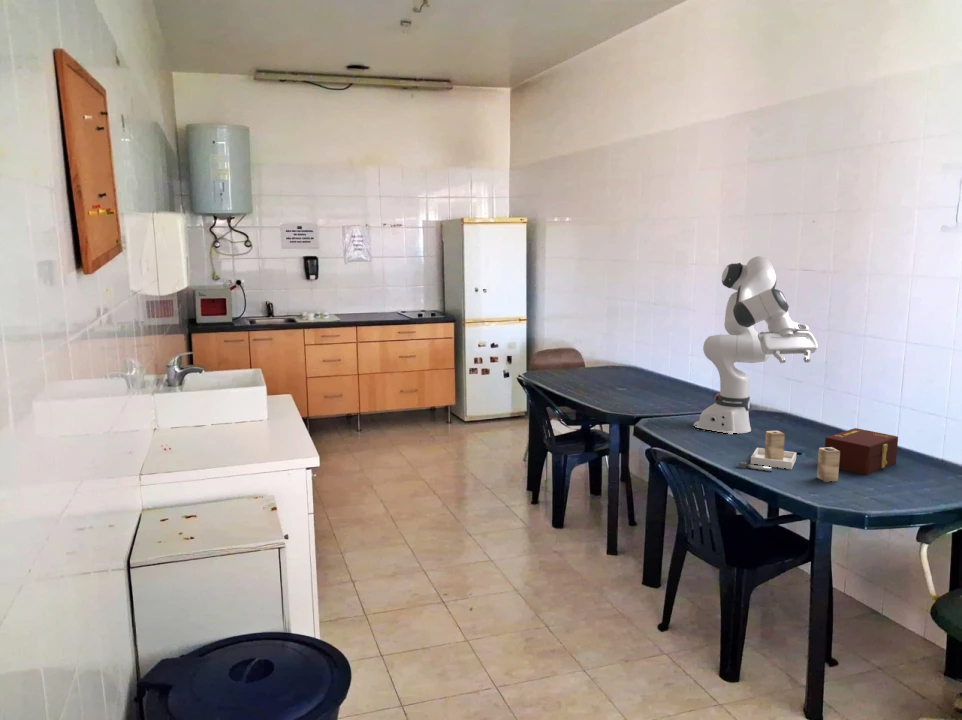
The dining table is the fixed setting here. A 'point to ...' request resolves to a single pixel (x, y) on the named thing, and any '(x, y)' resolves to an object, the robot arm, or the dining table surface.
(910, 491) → the dining table surface
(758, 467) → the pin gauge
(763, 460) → the tray
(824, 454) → the large-bore block
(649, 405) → the dining table surface
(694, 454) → the dining table surface
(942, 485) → the dining table surface
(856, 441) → the box
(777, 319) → the robot arm
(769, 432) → the small-bore block
